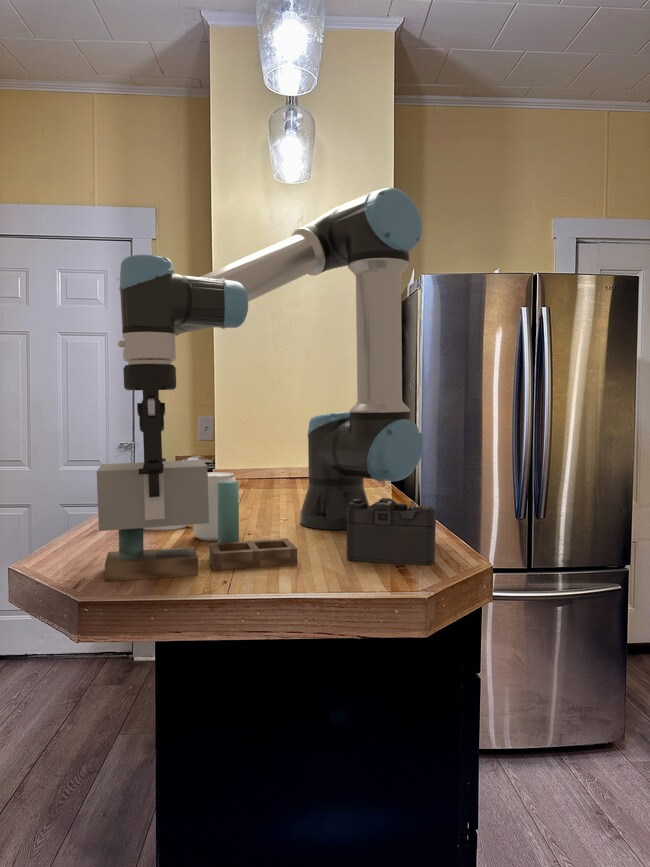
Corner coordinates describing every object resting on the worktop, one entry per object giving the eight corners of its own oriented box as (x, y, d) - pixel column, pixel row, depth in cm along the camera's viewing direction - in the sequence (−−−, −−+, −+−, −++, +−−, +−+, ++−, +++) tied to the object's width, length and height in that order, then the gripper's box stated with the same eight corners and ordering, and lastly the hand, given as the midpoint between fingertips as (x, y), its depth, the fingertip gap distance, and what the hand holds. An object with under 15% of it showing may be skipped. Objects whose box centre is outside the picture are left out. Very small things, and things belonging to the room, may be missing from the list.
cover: (203, 511, 101) (202, 459, 100) (209, 523, 91) (207, 466, 91) (104, 518, 97) (101, 464, 96) (98, 531, 87) (96, 471, 87)
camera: (435, 551, 108) (436, 493, 107) (435, 567, 97) (435, 503, 96) (353, 547, 110) (354, 491, 110) (344, 563, 100) (344, 501, 99)
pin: (237, 549, 108) (237, 480, 108) (240, 554, 105) (239, 483, 104) (217, 550, 107) (216, 481, 107) (219, 555, 104) (218, 483, 103)
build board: (287, 553, 105) (287, 538, 105) (297, 564, 98) (297, 548, 98) (209, 558, 102) (209, 543, 102) (213, 570, 95) (213, 553, 95)
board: (194, 562, 99) (194, 518, 99) (198, 574, 92) (197, 527, 92) (108, 568, 96) (107, 522, 96) (105, 581, 89) (104, 532, 88)
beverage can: (227, 542, 113) (227, 477, 113) (186, 540, 115) (185, 476, 115) (242, 533, 121) (242, 472, 121) (203, 532, 123) (202, 471, 122)
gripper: (126, 367, 102) (130, 502, 104) (119, 359, 81) (125, 529, 82) (173, 367, 104) (177, 499, 106) (178, 358, 83) (184, 525, 84)
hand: (154, 512), depth 94 cm, fingers closed on cover, 10 cm apart
